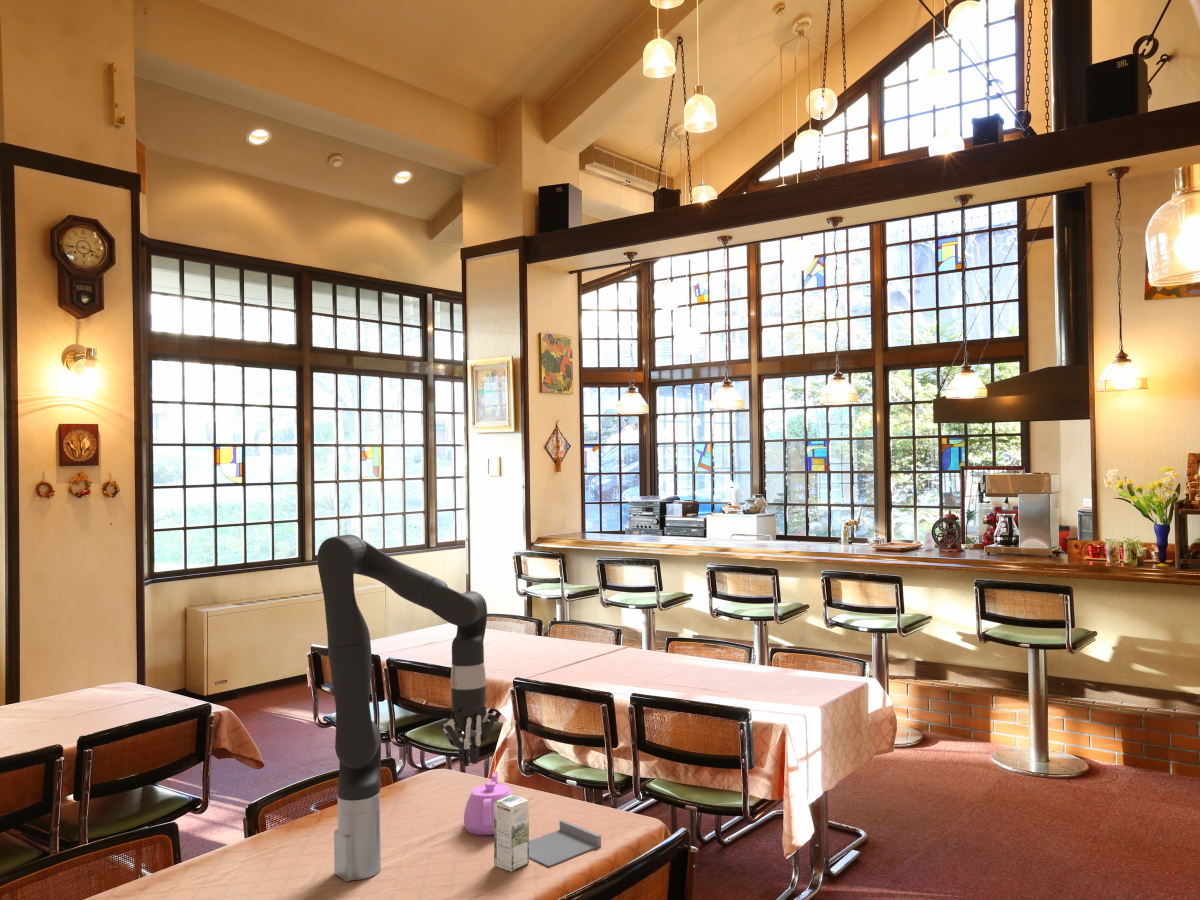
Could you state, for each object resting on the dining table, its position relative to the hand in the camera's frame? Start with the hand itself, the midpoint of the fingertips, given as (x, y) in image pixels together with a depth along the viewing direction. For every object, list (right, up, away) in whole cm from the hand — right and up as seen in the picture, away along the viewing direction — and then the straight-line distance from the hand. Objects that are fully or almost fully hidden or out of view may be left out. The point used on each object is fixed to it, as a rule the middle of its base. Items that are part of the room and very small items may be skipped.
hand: (469, 763), depth 188 cm
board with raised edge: (+18, -25, +15) cm, 35 cm away
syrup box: (+9, -25, +6) cm, 28 cm away
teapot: (+1, -27, +29) cm, 40 cm away
